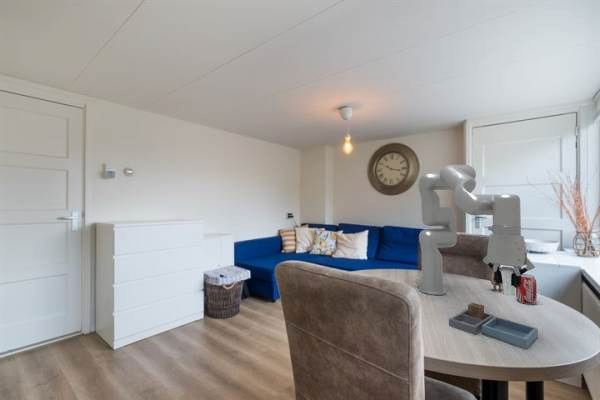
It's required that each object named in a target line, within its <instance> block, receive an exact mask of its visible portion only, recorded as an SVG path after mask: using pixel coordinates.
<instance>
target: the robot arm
mask: <svg viewBox="0 0 600 400" xmlns="http://www.w3.org/2000/svg"><path fill="white" fill-rule="evenodd" d="M476 175H477V173H476V169H475V167H473V166H471V165H469V164H448V165H444V166H443V167H442V168H441V169H440V170H439V172H428V173H425V174H422V175H421V176H420V178H419V179H418V184H417V185H418V192H419V195H420V200H421V205H420V206H421V221H422V224H423V225H424V226H426V227H427V226H428V227H442V228H426V229H423V230H421V231H420V233H419V235H418V240H419V244H420V251H421V253H420V254H421V279H417V278H416V279H415V284H416V285H419V287H418V290H419V292H421V293H424V294H427V295H431V296H443V295H446V294H447V289H446V288H444V273H443V267H444V266H443V255H442V254H441V252H440V250H439V248H453V247H455V246H456V244H457V241H458V233H457V232H458V230H457V229H458V226H457V225H458V223H457V222H458V221H457V215H456V212H455V210H454V209H452V208H451V207H447V206H446V207H445V206H444V207H441V201H440V200H441V199H440V197H439V194H438V193H437V192H436V191H451V190H452V191H453V200H454V203H455V204H456V205H457V207H458V208H459V209H461V211H463V212H464V213H466V214H467V215H469V216H492V225H491V226H488V227H487V229H488V231H491V232H492V233H491V234H489V237H488V244H487V254H486V255H485V256H484V257H483V259H482V262H483V263H484V264H485V265H487V266H488V268H490V269H491V270H492V272H493V274H494V280H495V281H496V284H499V283H501V278H500V272H499V269H500V268H501V267H502V266H505V267H512V268H514V270H515V275H514V287H515V289H516V288H518V287H519V286H520V285H521V275H522V274H526V273H527V272H529V271H531V270H533V269H535V267H536V266H535V265H534V264H533V262H531V259H529V258H528V253H527V252H528V251H527V248H526V245H527V244H526V242H525V238H524V235H522V230H521V228H522V227H521V224H522V223H521V217H522V216H521V198H520V196H519V195H517V194H472V192H473V191H474V190H475V188H476V186H477V182H476V178H477V176H476ZM498 265H499V266H500V268H499V266H498ZM524 266H525V267H524ZM522 267H523V268H522Z"/></svg>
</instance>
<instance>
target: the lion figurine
mask: <svg viewBox="0 0 600 400" xmlns="http://www.w3.org/2000/svg"><path fill="white" fill-rule="evenodd" d="M489 280H490V283H491V284H492V286H493V289H492V290H493V291H497V287H498V292H499V293H502V285H501V283H499V284H496V281H495V280H494V273H492V274H491V275H489Z"/></svg>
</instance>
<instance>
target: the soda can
mask: <svg viewBox="0 0 600 400" xmlns="http://www.w3.org/2000/svg"><path fill="white" fill-rule="evenodd" d="M537 295H538V294H537V280H536V278H535V276H534V275H532V274H527V273H524V274H522V275H521V285H520V286H519V287H518V288H515V297H516V300H517V301H518V302H519V303H521V304H524V305H532V306H533V305H535V304H537V300H538V298H537V297H538V296H537Z"/></svg>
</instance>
